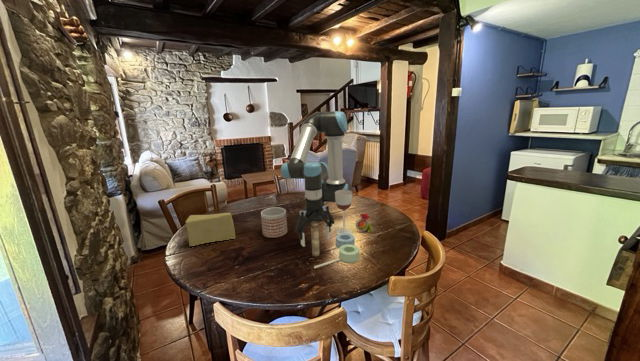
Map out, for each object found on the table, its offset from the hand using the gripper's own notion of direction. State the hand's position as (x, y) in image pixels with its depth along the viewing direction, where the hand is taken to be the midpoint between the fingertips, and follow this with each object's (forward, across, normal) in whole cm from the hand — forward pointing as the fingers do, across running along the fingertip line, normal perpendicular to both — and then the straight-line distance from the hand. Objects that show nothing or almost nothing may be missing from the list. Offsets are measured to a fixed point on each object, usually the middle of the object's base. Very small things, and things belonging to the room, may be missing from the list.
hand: (315, 242), depth 123 cm
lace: (+6, 0, -10) cm, 12 cm away
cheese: (+7, -41, +40) cm, 57 cm away
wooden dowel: (+6, 0, 0) cm, 6 cm away
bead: (+6, +12, -10) cm, 17 cm away
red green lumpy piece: (+7, +34, +8) cm, 36 cm away
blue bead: (+6, +17, +1) cm, 18 cm away
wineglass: (+7, +24, +13) cm, 28 cm away
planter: (+7, -9, +33) cm, 35 cm away
